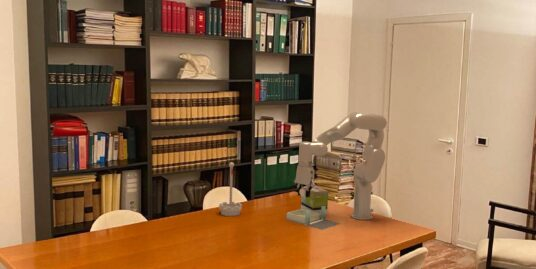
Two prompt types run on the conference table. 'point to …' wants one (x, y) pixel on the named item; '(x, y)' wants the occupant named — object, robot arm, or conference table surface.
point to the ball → (303, 191)
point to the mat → (319, 223)
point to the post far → (323, 212)
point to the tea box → (315, 200)
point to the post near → (307, 217)
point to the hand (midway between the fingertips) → (303, 195)
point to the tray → (302, 216)
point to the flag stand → (230, 208)
